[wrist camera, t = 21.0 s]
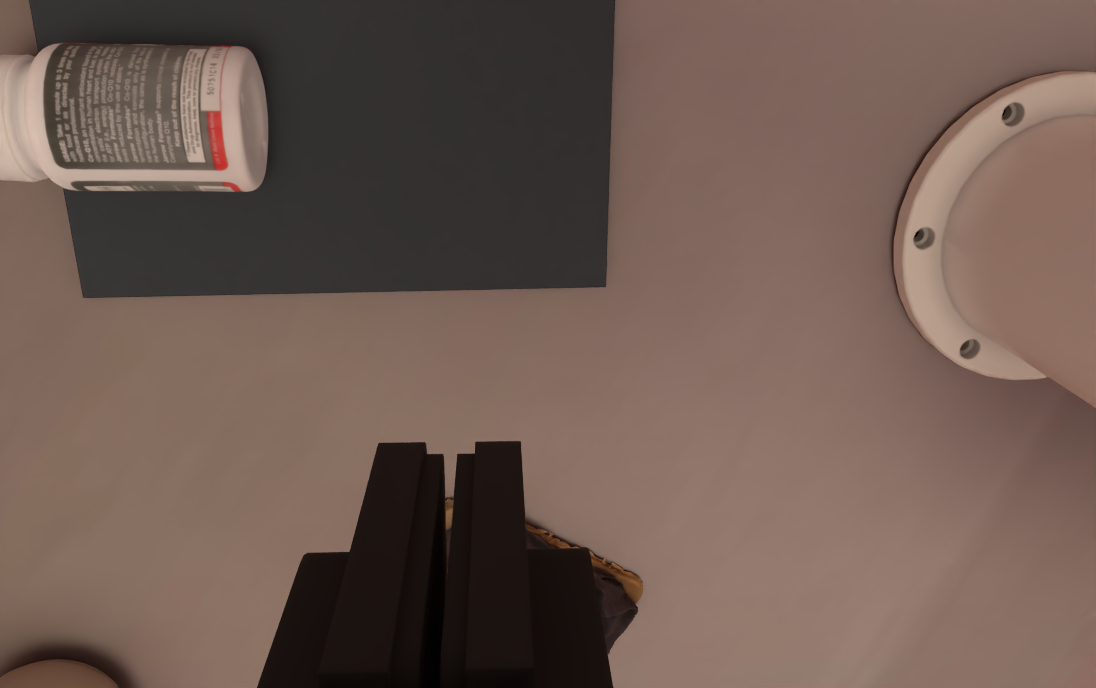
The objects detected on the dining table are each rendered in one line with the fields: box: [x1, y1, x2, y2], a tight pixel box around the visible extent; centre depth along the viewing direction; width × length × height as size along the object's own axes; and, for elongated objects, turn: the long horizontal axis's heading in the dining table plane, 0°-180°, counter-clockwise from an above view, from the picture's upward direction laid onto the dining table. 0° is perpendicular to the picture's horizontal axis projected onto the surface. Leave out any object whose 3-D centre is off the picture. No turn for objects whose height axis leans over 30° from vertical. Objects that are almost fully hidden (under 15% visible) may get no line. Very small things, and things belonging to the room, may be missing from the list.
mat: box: [29, 0, 615, 298], centre depth 33 cm, size 20×16×1 cm
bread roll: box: [445, 498, 643, 655], centre depth 40 cm, size 11×8×4 cm
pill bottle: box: [0, 43, 268, 192], centre depth 30 cm, size 5×5×8 cm
